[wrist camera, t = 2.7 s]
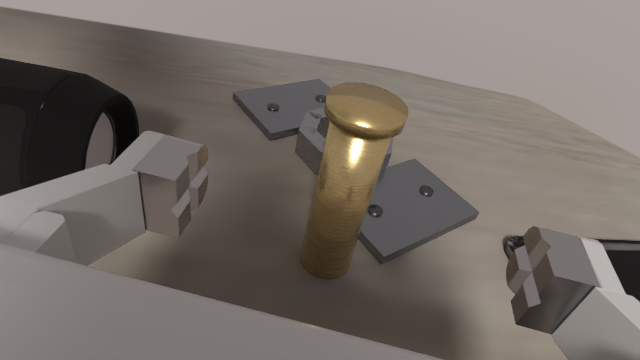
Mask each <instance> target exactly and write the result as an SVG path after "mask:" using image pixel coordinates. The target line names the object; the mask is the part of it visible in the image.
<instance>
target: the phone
mask: <svg viewBox="0 0 640 360" xmlns="http://www.w3.org/2000/svg"><path fill="white" fill-rule="evenodd" d="M594 240H598V241H599V242H600V243H601V244H602V245H603V247H604V249H605V251H606V253H607V256H608V258H609V260H610V262H611V264H612V266H613V268H614V270H615V272H616V274H617V277H618V279H619V281H620V283H621V285H622V287H623V289H624V291H625V293H626V295H630V296H633V297H634V298H635V299H637V300H638V301H639V302H640V241H628V240H600V239H594ZM524 245H525V243H524V239H523V237H519V236H515V237H511V238H509V240H508V241H507V243H506V244H505V246H504V252H505V254H506V256H507V257H508V259H509V258H510V257H511V255H512V253H513V252H514V250H515V249H517V248H519V247H522V246H524Z"/></svg>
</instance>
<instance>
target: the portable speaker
mask: <svg viewBox="0 0 640 360" xmlns="http://www.w3.org/2000/svg"><path fill="white" fill-rule="evenodd" d="M138 137H139V126H138V119H137V114H136V111H135V108H134V106H133V104H132V102H131V101H130V100H129V99H128V97H126V96H125V95H123V94H122V93H120V92H118V91H116V90H115V89H113V88H111V87H109V86H107V85H106V84H104V83H102V82H100V81H99V80H97V79H95V78H93V77H91V76H89V75H87V74H82V73H77V72H72V71H67V70H62V69H57V68H52V67H46V66H41V65H36V64H30V63H25V62H19V61H14V60H8V59H3V58H0V196H3V195H6V194H9V193H12V192H15V191H19V190H22V189H25V188H28V187H31V186H35V185H38V184H41V183H44V182H47V181H51V180H54V179H57V178H60V177H63V176H66V175H70V174H73V173H76V172H79V171H82V170H86V169H89V168H92V167H95V166H98V165H102V164H108V165H111V164H112V163H113V162H114V161H115V160H116V159H117V158H118V157H119V156H120V155H121V154H122V153H123V152H124V151H125V150H126V149H127V148H128V147H129V146H130V145H131V144H132V143H133V142H134V141H135V140H136V139H137V138H138Z"/></svg>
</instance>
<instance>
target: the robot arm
mask: <svg viewBox="0 0 640 360" xmlns="http://www.w3.org/2000/svg"><path fill="white" fill-rule="evenodd" d="M207 160H208V148H207V147H206V146H205V145H203V144H199V143H196V142H192V141H188V140H185V139H181V138H177V137H173V136H170V135H165V134H162V133H158V132H154V131H150V130H149V131H144V132H143V133H142V134H141V135H140V136H139V137H138V138H137V139H136V140H135V141H134V142H133V143H132V144H131V145H130V146H129V147H128V148H127V149H126V150H125V151H124V152H123V153H122V154H121V155H120V156H119V157H118V158H117V159H116V160H115V161H114V162H113V163H112V164H111V165H108V164H102V165H98V166H95V167H92V168H89V169H86V170H82V171H79V172H76V173H73V174H70V175H66V176H63V177H60V178H57V179H54V180H51V181H47V182H44V183H41V184H38V185H35V186H31V187H28V188H25V189H22V190H19V191H15V192H12V193H9V194H6V195H3V196H0V360H444V359H440V358H437V357H433V356H429V355H425V354H421V353H418V352H414V351H410V350H406V349H402V348H399V347H395V346H391V345H387V344H383V343H380V342H376V341H372V340H368V339H364V338H360V337H357V336H353V335H349V334H345V333H341V332H338V331H334V330H330V329H326V328H322V327H318V326H315V325H311V324H307V323H303V322H299V321H296V320H292V319H288V318H284V317H280V316H276V315H273V314H269V313H265V312H261V311H257V310H254V309H250V308H246V307H242V306H238V305H235V304H231V303H227V302H223V301H219V300H215V299H212V298H208V297H204V296H200V295H196V294H193V293H189V292H185V291H181V290H177V289H173V288H170V287H166V286H162V285H158V284H154V283H151V282H147V281H143V280H139V279H135V278H132V277H128V276H124V275H120V274H116V273H112V272H109V271H105V270H101V269H97V268H93V267H90V266H88V265H89V264H91V263H93V262H94V261H96V260H98V259H100V258H101V257H103V256H105V255H107V254H108V253H110V252H112V251H114V250H115V249H117V248H119V247H120V246H122V245H124V244H126V243H127V242H129V241H131V240H133V239H134V238H136V237H138V236H139V235H141V234H143V233H145V232H146V231H145V230H147V231H151V232H156V233H160V234H165V235H169V236H173V237H178V238H179V237H180V236H181V234H182V233H183V231H184V229H185V228H186V226H187V225H188V223H189V222H190V220H191V211H192V210H194V209H197V208H198V207H199V206H200V204H201V202H202V201H203V198H204V195H205V193H206V190H207V184H208V172H207V171H206V170H205V168H204V167H203V166H204V164H205V163H206V161H207ZM523 239H524V243H525V245H524V246H522V247H519V248H517V249H515V250H514V252H513V253H512V255H511V257H510V258H509V261H508V265H507V269H506V279H507V285H508V287H509V288H510V289H511V290H512V292H513V293H514V294H515V296H514V297H513V299H512V300H511V305H512V309H513V314H514V319H515V323H516V324H517V325H520V326H524V327H527V328H531V329H534V330H538V331H541V332H545V333H548V334H552V335H551V337H552V338H553V340H554V341H555V342H556V344H557V345H558V347H559V348H560V349H561V351H562V352H563V353H564V355H565V356H566V358H567V359H568V360H640V302H639V301H638V300H637V299H635V298H634V297H633V296H630V295H626V293H625V291H624V289H623V287H622V285H621V283H620V281H619V279H618V277H617V274H616V272H615V270H614V268H613V266H612V264H611V262H610V260H609V258H608V256H607V253H606V251H605V249H604V247H603V245H602V244H601V243H600V242H599V241H598V240H594V239H589V238H585V237H580V236H572V235H568V234H564V233H560V232H556V231H552V230H548V229H544V228H539V227H535V226H533V227H531V228H530V229H528V231H527V232H526V233H525V235H524V236H523Z"/></svg>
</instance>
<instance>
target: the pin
mask: <svg viewBox="0 0 640 360" xmlns="http://www.w3.org/2000/svg"><path fill="white" fill-rule="evenodd" d="M324 112H325V115H326V117H327V118H328V120H329V121H330V123H329V128H328V132H327V137H326V142H325V146H324V151H323V156H322V160H321V165H320V169H319V174H318V179H317V183H316V188H315V192H314V197H313V202H312V206H311V211H310V215H309V220H308V225H307V229H306V234H305V239H304V243H303V248H302V252H301V261H302V264H303V266H304V268H305V269H306V270H307V271H308V272H309V273H311V274H312V275H314V276H316V277H319V278H322V279H334V278H338V277H340V276H342V275H343V274H344V273H345V272H346V271H347V269H348V267H349V264H350V261H351V258H352V255H353V252H354V249H355V246H356V243H357V240H358V237H359V234H360V231H361V228H362V225H363V222H364V219H365V216H366V213H367V209H368V206H369V203H370V200H371V197H372V194H373V191H374V188H375V185H376V182H377V179H378V176H379V173H380V170H381V167H382V164H383V161H384V158H385V155H386V152H387V149H388V146H389V143H390V140H391V138H392V137H395V136H396V135H398V134H400V133H401V132H402V130H403V128H404V125H405V122H406V119H407V117H408V108H407V106H406V104H405V103H404V102H403V101H402V100H401V99H400V98H399V97H398V96H396V95H395V94H393V93H391V92H389V91H387V90H385V89H383V88H380V87H377V86H373V85H369V84H364V83H342V84H338V85H336V86H334V87H332V88H331V89H330V90H329V91H328V93H327V97H326V102H325V107H324Z"/></svg>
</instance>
